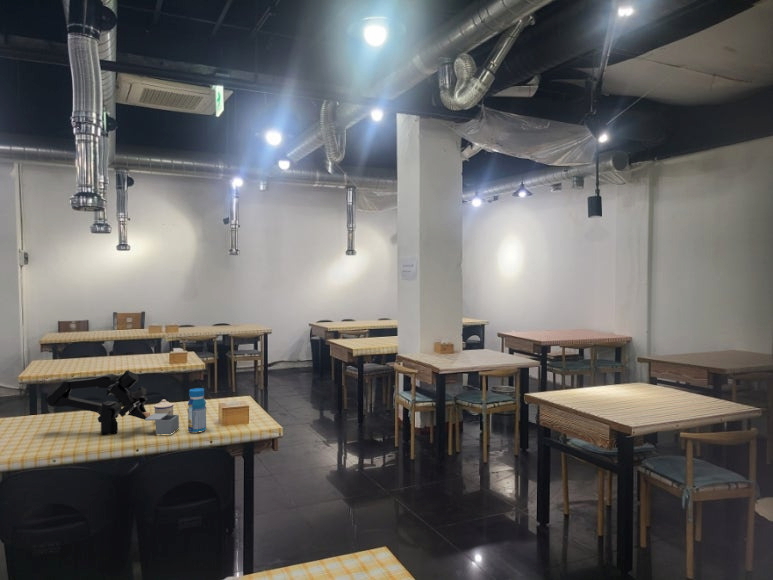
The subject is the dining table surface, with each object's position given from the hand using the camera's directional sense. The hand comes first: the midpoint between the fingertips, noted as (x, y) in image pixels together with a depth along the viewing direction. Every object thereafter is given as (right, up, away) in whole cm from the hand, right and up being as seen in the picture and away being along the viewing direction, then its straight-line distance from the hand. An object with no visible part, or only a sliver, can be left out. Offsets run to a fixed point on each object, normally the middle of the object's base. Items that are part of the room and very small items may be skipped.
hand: (146, 418), depth 246 cm
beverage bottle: (+23, -7, +3) cm, 24 cm away
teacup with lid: (+1, -7, +18) cm, 19 cm away
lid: (+3, 0, 0) cm, 3 cm away
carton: (+10, -7, +1) cm, 12 cm away
